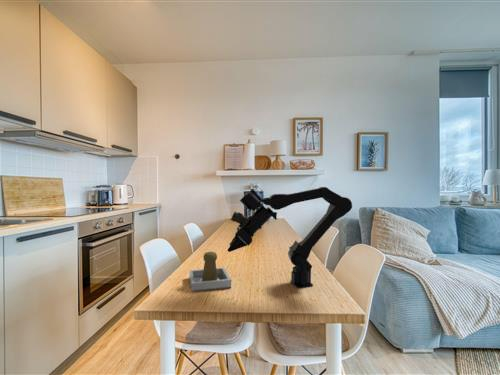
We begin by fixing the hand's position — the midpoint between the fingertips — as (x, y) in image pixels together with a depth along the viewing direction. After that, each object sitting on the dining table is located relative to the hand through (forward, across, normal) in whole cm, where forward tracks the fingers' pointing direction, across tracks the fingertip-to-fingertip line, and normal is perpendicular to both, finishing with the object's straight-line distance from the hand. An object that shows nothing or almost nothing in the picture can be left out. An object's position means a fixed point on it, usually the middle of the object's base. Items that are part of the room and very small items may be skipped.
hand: (229, 248), depth 95 cm
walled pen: (+15, 0, +4) cm, 15 cm away
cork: (+14, 0, +4) cm, 15 cm away
